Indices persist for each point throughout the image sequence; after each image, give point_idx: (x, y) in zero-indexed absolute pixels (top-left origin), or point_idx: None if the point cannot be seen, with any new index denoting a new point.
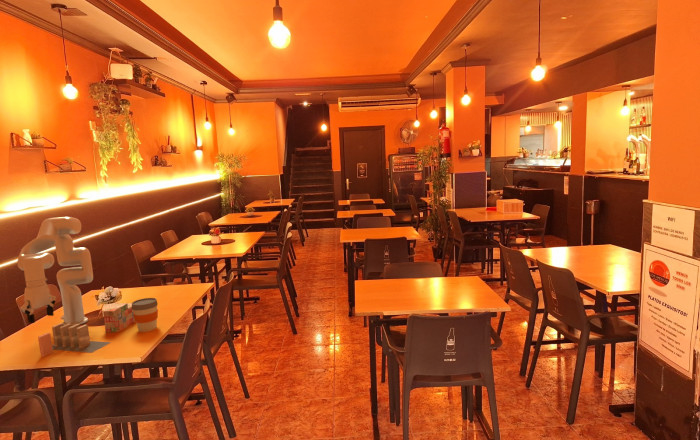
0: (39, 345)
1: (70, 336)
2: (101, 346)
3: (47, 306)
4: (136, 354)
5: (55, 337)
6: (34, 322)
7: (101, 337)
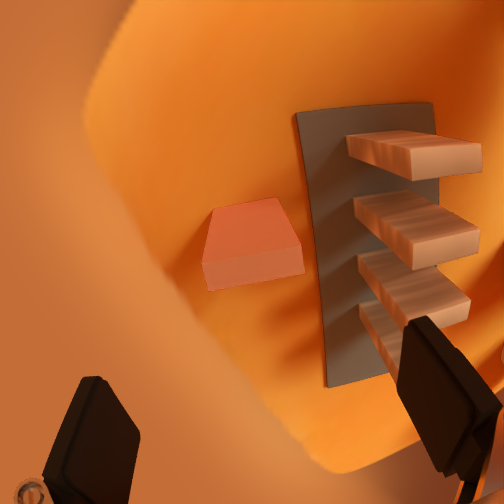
0: (207, 237)
1: (382, 293)
2: (386, 367)
3: (493, 432)
4: (344, 468)
5: (370, 158)
6: (135, 433)
7: (474, 264)
